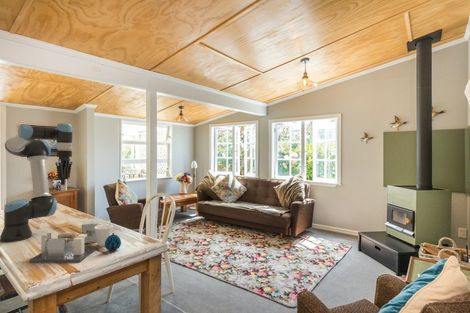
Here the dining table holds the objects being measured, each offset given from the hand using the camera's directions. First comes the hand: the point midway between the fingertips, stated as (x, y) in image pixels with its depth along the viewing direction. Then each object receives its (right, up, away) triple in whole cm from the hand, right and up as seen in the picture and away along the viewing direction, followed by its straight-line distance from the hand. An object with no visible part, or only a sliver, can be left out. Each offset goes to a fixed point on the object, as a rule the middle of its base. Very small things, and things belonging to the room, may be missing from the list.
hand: (63, 190), depth 150 cm
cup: (+22, -33, +2) cm, 40 cm away
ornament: (+32, -34, -6) cm, 47 cm away
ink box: (+11, -33, +8) cm, 36 cm away
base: (+10, -33, -14) cm, 37 cm away
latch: (+18, -32, -14) cm, 39 cm away
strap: (+9, -25, -14) cm, 30 cm away
